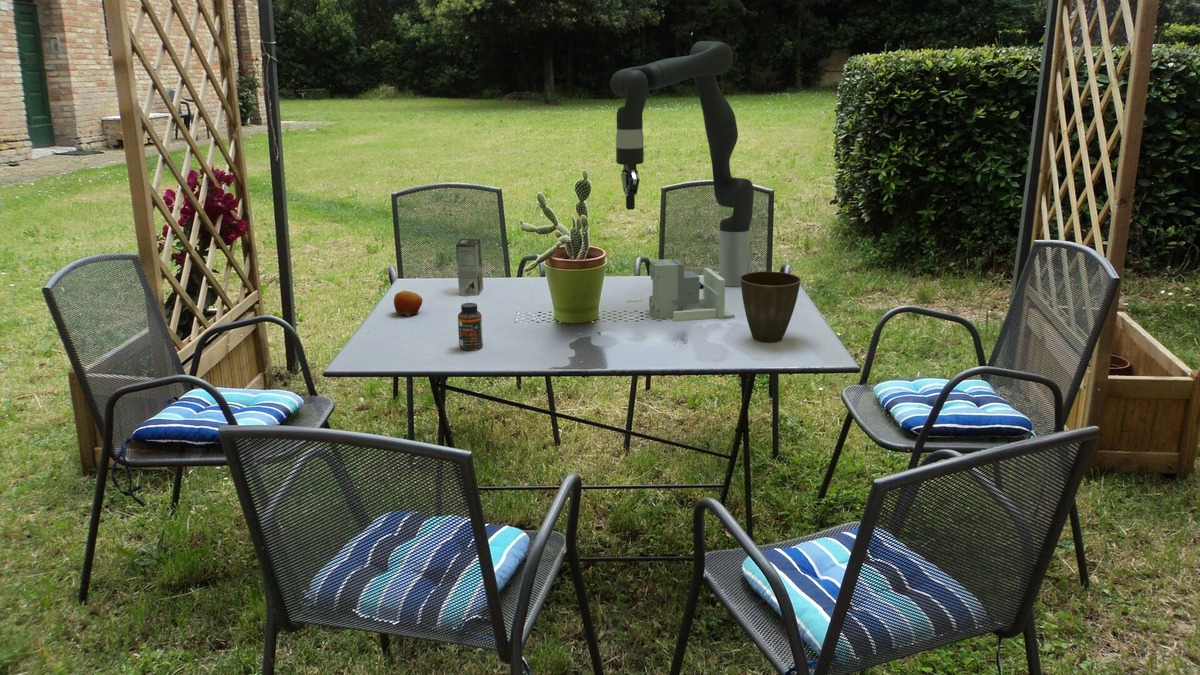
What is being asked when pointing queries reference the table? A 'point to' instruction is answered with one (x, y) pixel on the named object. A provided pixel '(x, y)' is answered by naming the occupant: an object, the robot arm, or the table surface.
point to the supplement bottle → (470, 327)
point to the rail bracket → (708, 300)
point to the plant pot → (769, 303)
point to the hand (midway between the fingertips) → (630, 209)
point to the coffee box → (469, 267)
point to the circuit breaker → (672, 287)
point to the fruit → (407, 303)
